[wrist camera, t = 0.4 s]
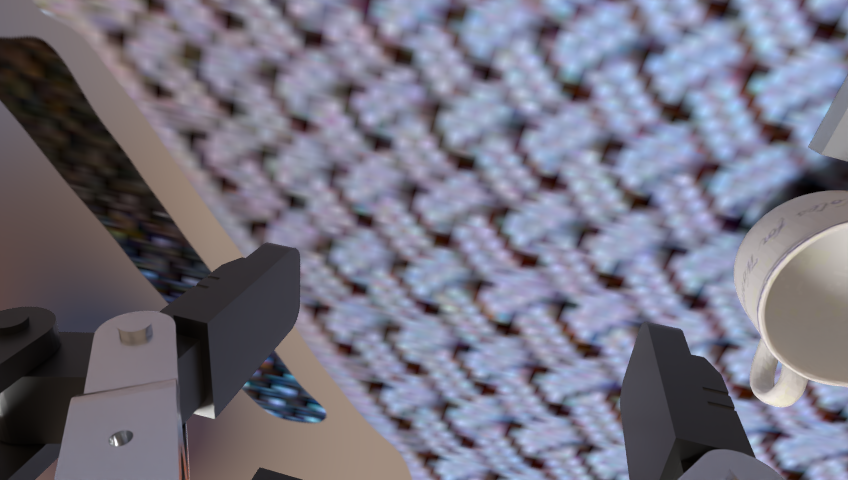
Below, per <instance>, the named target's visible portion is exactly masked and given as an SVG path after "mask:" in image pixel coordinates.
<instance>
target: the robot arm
mask: <svg viewBox="0 0 848 480" xmlns="http://www.w3.org/2000/svg"><path fill="white" fill-rule="evenodd" d="M299 307H300V254H299V251H298V250H297V249H296V248H292V247H287V246H282V245H277V244H272V243H265V244H263V245H262V246H261V247H259V248H258V249H257V250H256V251H254V252H253V253H252V254H250V255H249V256H248V257H247V258H243V257H242V258H239V259H236V260H234V261H231V262H228V263H226V264H223V265H221V266H220V267H219V268H217V269H216V270H215V271H213V272H212V273H211V274H209V275H208V278H206V277H205V278H204V279H202V280H201V281H200V282H198V283H197V285H196V286H193V287H192V288H190V289H189V290H188V291H186V292H185V293H184V294H182V295H181V296H180V297H178V298H177V299H176V300H174V301H173V302H172V303H170V304H169V305H168V306H166V307H165V308H164V309H162V310H161V311H160V312H156V311H137V312H130V313H127V314H123V315H120V316H117V317H115V318H112V319H110V320H108V321H107V322H105V323H104V324H102V325H101V326H100V327H99V328H98V329H97V330H96V332H95V333H79V332H59V331H58V326H57V321H56V317H55V315H54V313H52V312H51V311H49V310H47V309H44V308H39V307H18V308H12V309H7V310H3V311H0V480H35V479H36V478H37V477H38V476H39V475H40V474H41V473H42V472H43V471H45V470H46V469H47V468H48V467H49V466H50V465H51V464H52V463H53V462H54V461H55V460H56V459H57V458H58V457H59V459H58V464H57V468H56V473H55V479H54V480H190V477H189V459H188V442H187V427H186V421H187V420H188V419H189V418H190V416H191V415H192V414H193V413H194V414H198V415H202V416H205V417H210V418H213V419H215V418H216V417H217V416H218V415H219V414H220V412H221V411H222V410H223V409H224V408H225V407H226V406H227V404H228V403H229V402H230V401H231V400H232V398H233V397H234V396H235V395H236V394H237V393H238V391H239V390H240V389H241V388H242V387H243V386H244V384H245V383H246V382H247V381H248V380H249V379H250V377H251V376H252V375H253V374H254V373H255V372H256V370H257V369H258V368H259V367H260V366H261V365H262V363H263V362H264V361H265V360H266V359H267V358H268V356H269V355H270V354H271V353H272V352H273V351H274V349H275V348H276V347H277V346H278V345H279V343H280V342H281V341H282V340H283V339H284V338H285V336H286V335H287V334H288V333H289V332H290V331H291V329H292V328H293V326H294V324H295V322H296V320H297V317H298V313H299ZM728 393H729V392H728V390H727V388H726V385H725V383H724V380H723V378H722V375H721V374H720V373H719V372H718V371H717V370H716V369H715V368H714V367H713V366H712V365H711V364H710V363H709V362H708V361H707V360H706V359H705V358H704V357H700V356H695V355H691V353H690V351H689V348H688V345H687V342H686V339H685V336H684V334H683V331H682V330H681V329H678V328H673V327H669V326H664V325H659V324H654V323H649V322H644V323H643V324H642V325H641V327H640V330H639V333H638V336H637V339H636V342H635V345H634V348H633V351H632V354H631V358H630V361H629V364H628V367H627V370H626V373H625V376H624V380H623V384H622V389H621V397H620V409H621V417H622V425H623V433H624V440H625V448H626V456H627V463H628V471H629V479H630V480H785V479H784V478H783V477H782V476H781V475H779V474H778V473H777V472H776V471H775V470H773V469H772V468H771V467H769V466H768V465H766V464H765V463H763V462H761V461H759V460H758V459H756V458H755V455H754V453H753V450H752V448H751V445H750V443H749V441H748V438H747V436H746V433H745V431H744V429H743V426H742V424H741V421H740V419H739V416H738V414H737V412H736V411H734V408H735V407H734V404H733V402H732V400H731V397H730V396H728ZM252 480H302V479H298V478H295V477H291V476H288V475H284V474H281V473H277V472H274V471H271V470H267V469H264V468H259V469H258V471H257V472H256V474H255V475H254V477H253V478H252Z"/></svg>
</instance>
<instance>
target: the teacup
mask: <svg viewBox="0 0 848 480" xmlns="http://www.w3.org/2000/svg"><path fill="white" fill-rule="evenodd" d="M734 282H735V287H736V291H737V295H738V297H739V299H740V302H741V304H742V306H743V308H744V310H745V311H746V313H747V315H748V316H749V318H750V319H751V321H752V322H753V324H754V325H755V327H756V328H757V330H758V331H759V333H760V335H761V339H760V342H759V344H758V347H757V350H756V353H755V356H754V359H753V362H752V366H751V371H750V385H751V388H752V391H753V393H754V394H755V396H756V397H757V398H759V399H760V400H761V401H763V402H764V403H767V404H770V405H773V406H776V407H787V406H790V405H792V404H793V403H795V402H796V401H797V400H798V399H799V398H800V397H801V396H802V394H803V392H804V390H805V388H806V385H807V382H808V379H810V380H812V381H816V382H819V383H823V384H828V385H834V386H844V387H848V191H845V190H833V191H821V192H815V193H811V194H806V195H803V196H800V197H797V198H794V199H792V200H789V201H787V202H785V203H783V204H781V205H779V206H777V207H776V208H774V209H773V210H771V211H770V212H768V213H767V214H766V215H764V216H763V217H762V218H761V219H760V220H759V221H758V222H757V223H756V224H755V225H754V226H753V227H752V228H751V229H750V231H749V232H748V233H747V235H746V236H745V238H744V239H743V241H742V243H741V245H740V247H739V250H738V252H737V255H736V259H735V264H734ZM778 361H779V362H780V363H782V371H781V375H780V378H779V380H778V382H777V383H776V384H775V386H774V376H775V371H776V367H777V363H778Z"/></svg>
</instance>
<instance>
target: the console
mask: <svg viewBox="0 0 848 480" xmlns="http://www.w3.org/2000/svg"><path fill="white" fill-rule="evenodd" d="M808 147H809V148H810V149H812V150H814V151H816V152H818V153H819V154H821V155H825V156H829V157H832V158H836V159H840V160H843V161H847V162H848V75H847V77H846V79H845V81H844V83H843V84H842V86H841V88H840V90H839V92H838V93H837V95H836V97H835V99H834V101H833V103H832V104H831V106H830V108H829V110H828V112H827V114H826V115H825V117H824V119H823V121H822V123H821V125H820V126H819V128H818V130H817V132H816V134H815V135H814V137H813V139H812V141H811V143H810V145H809V146H808Z"/></svg>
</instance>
